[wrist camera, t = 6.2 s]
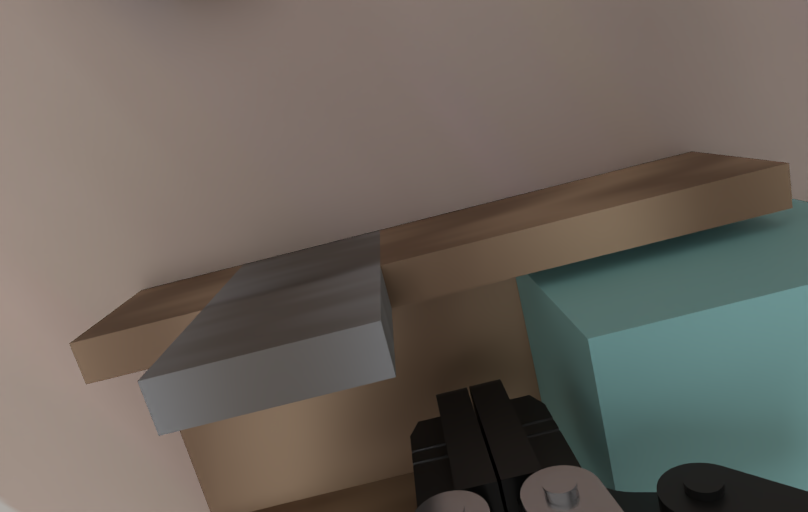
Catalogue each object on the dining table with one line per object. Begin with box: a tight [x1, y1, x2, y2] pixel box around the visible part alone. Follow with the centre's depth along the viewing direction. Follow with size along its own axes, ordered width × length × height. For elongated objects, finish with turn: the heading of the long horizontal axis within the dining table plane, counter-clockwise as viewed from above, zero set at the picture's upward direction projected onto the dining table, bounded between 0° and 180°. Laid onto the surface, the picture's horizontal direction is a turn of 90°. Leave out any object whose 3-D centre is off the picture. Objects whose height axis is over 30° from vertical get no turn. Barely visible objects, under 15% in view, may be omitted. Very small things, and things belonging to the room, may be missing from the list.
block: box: [516, 199, 808, 492], centre depth 14 cm, size 7×5×6 cm
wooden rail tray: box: [69, 152, 793, 512], centre depth 14 cm, size 16×8×8 cm, turn 104°
